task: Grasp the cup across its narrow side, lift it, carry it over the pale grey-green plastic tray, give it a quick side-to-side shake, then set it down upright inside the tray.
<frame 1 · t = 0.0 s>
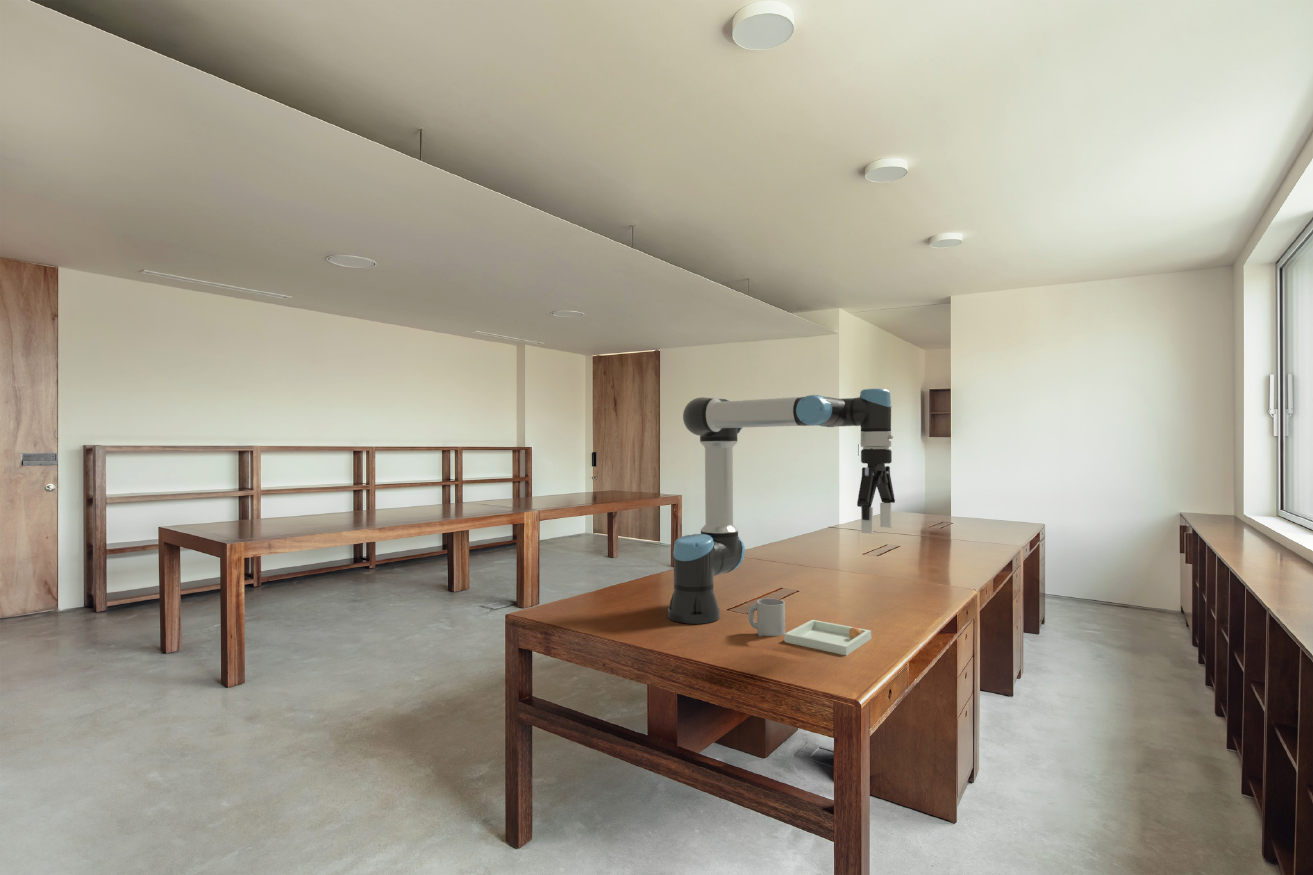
hand: (876, 530, 159), 28 cm above the table, fingers open, 13 cm apart
tray: (828, 644, 154), on the table
cup: (766, 635, 162), on the table
ball: (855, 639, 155), point 1 cm above the table, touching tray
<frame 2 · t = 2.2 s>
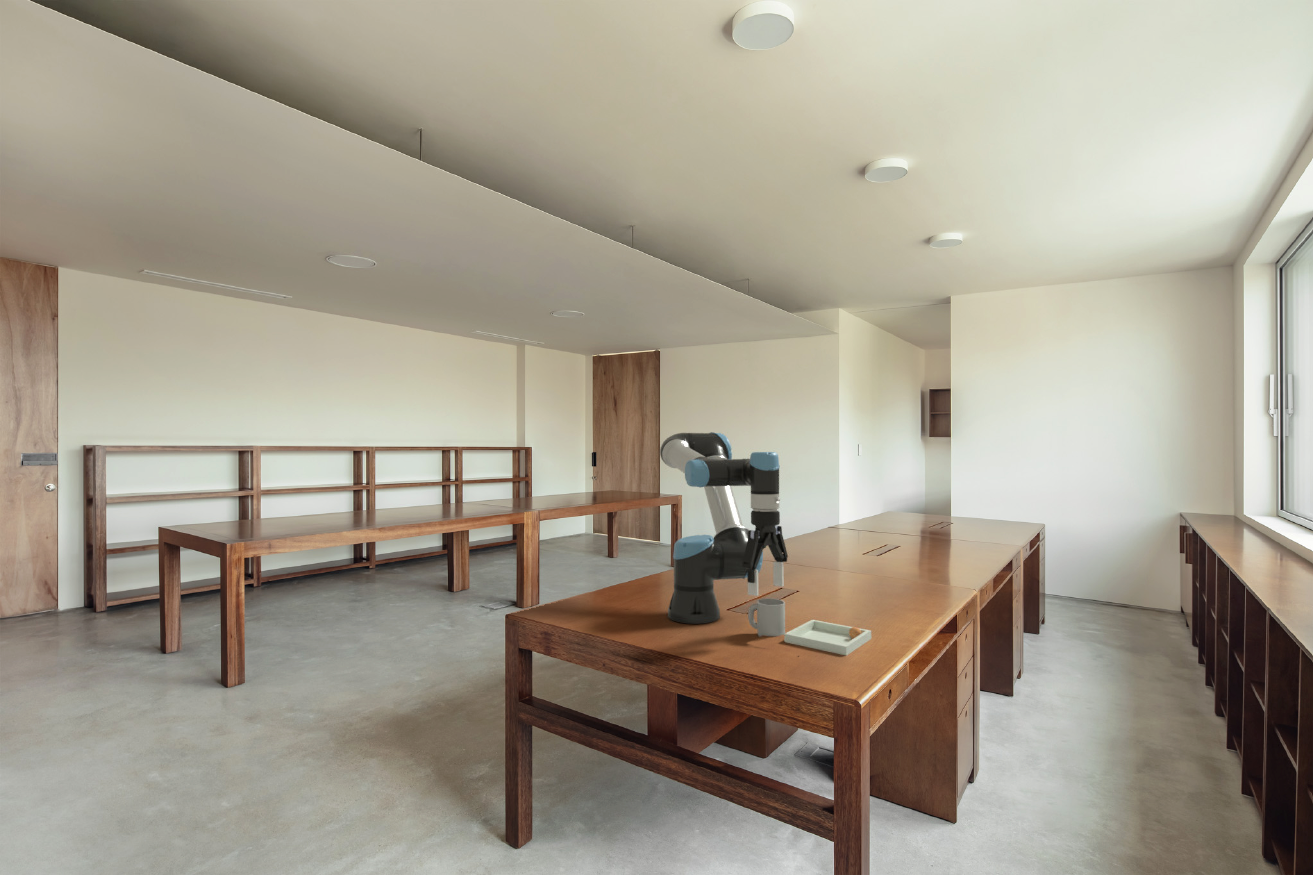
hand: (766, 590, 162), 12 cm above the table, fingers open, 13 cm apart
nothing on the table moved.
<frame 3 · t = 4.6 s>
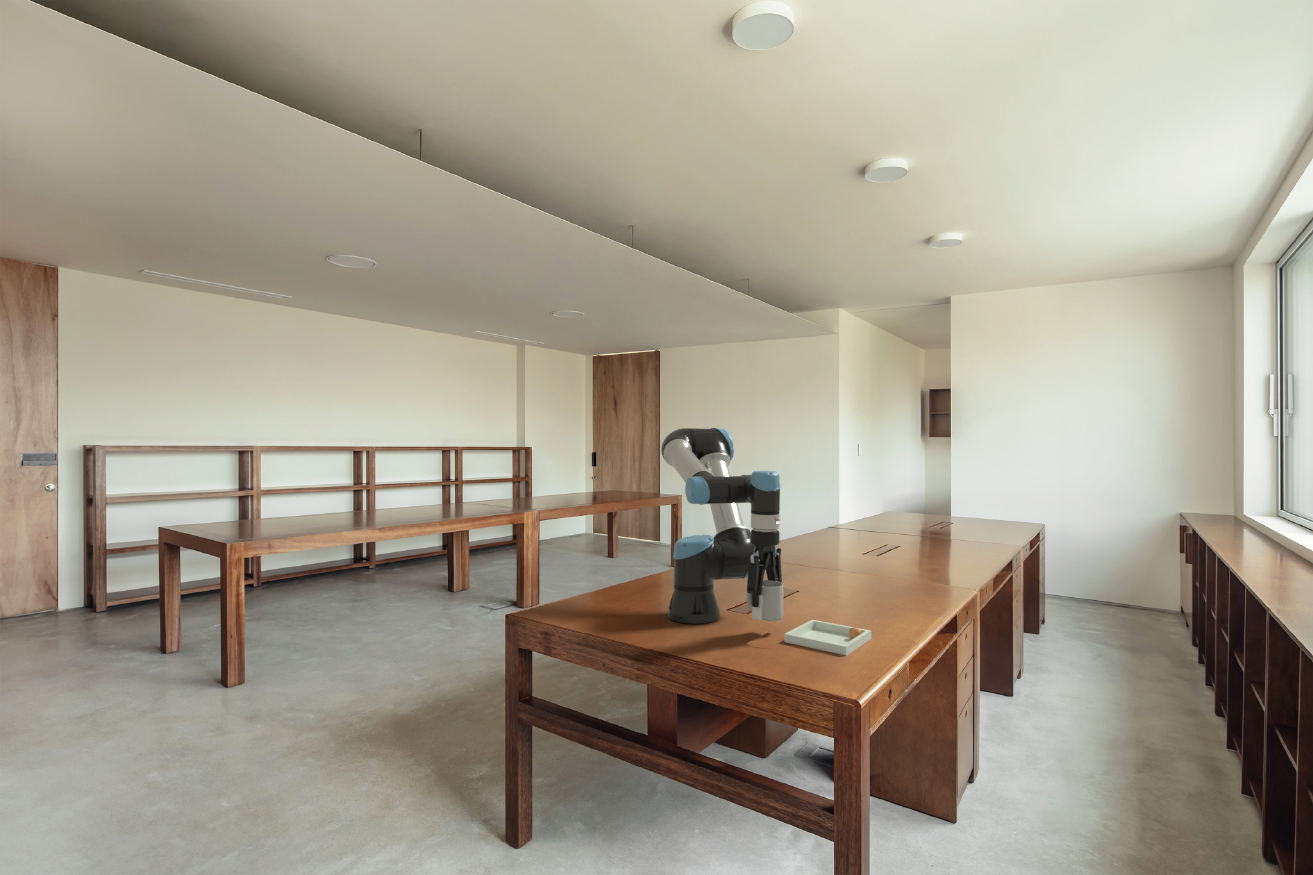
hand: (764, 615, 163), 5 cm above the table, fingers closed on cup, 7 cm apart
cup: (764, 617, 163), point 5 cm above the table, touching gripper
everything else where it was.
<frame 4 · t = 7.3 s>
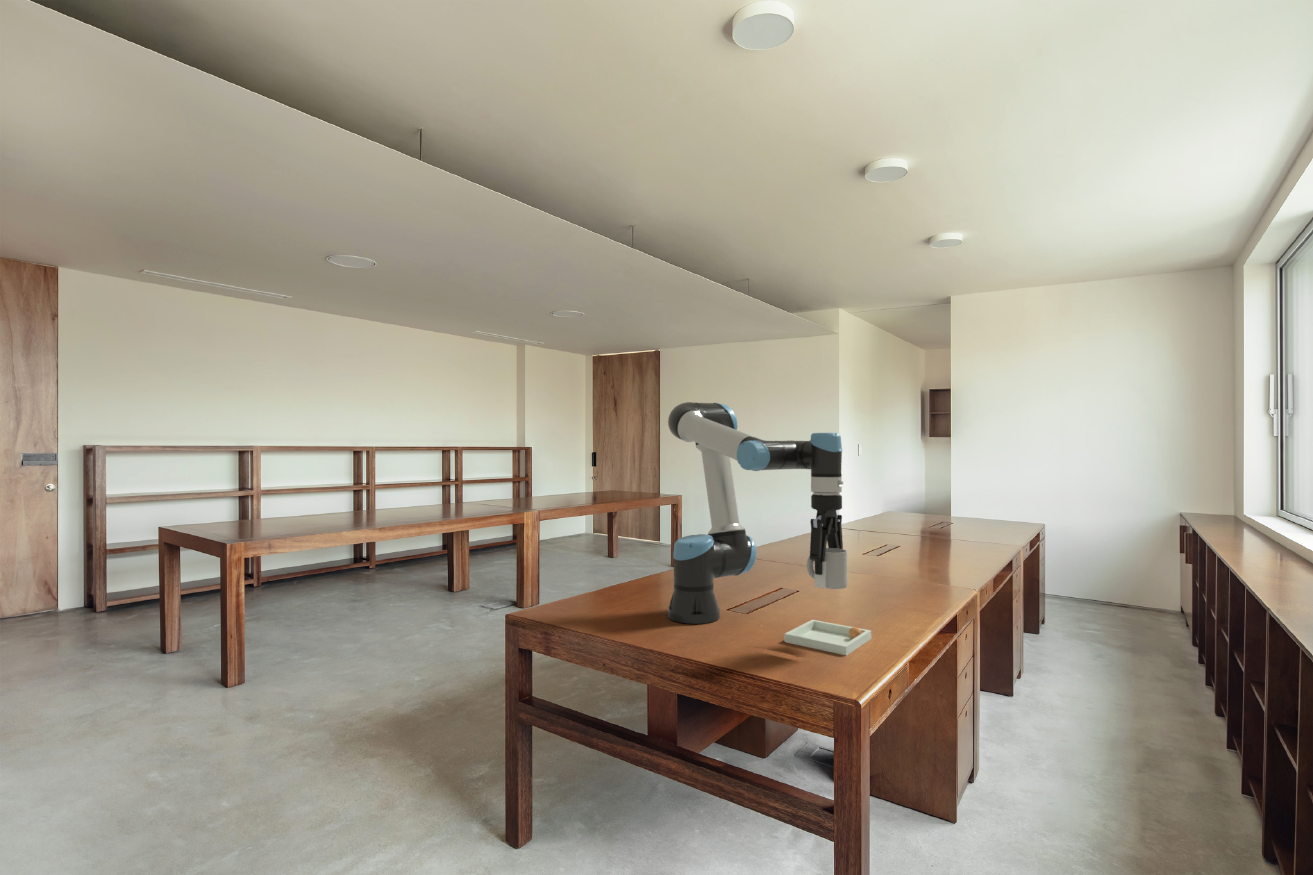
hand: (827, 584, 154), 15 cm above the table, fingers closed on cup, 7 cm apart
cup: (826, 586, 154), point 15 cm above the table, touching gripper
everything else where it was.
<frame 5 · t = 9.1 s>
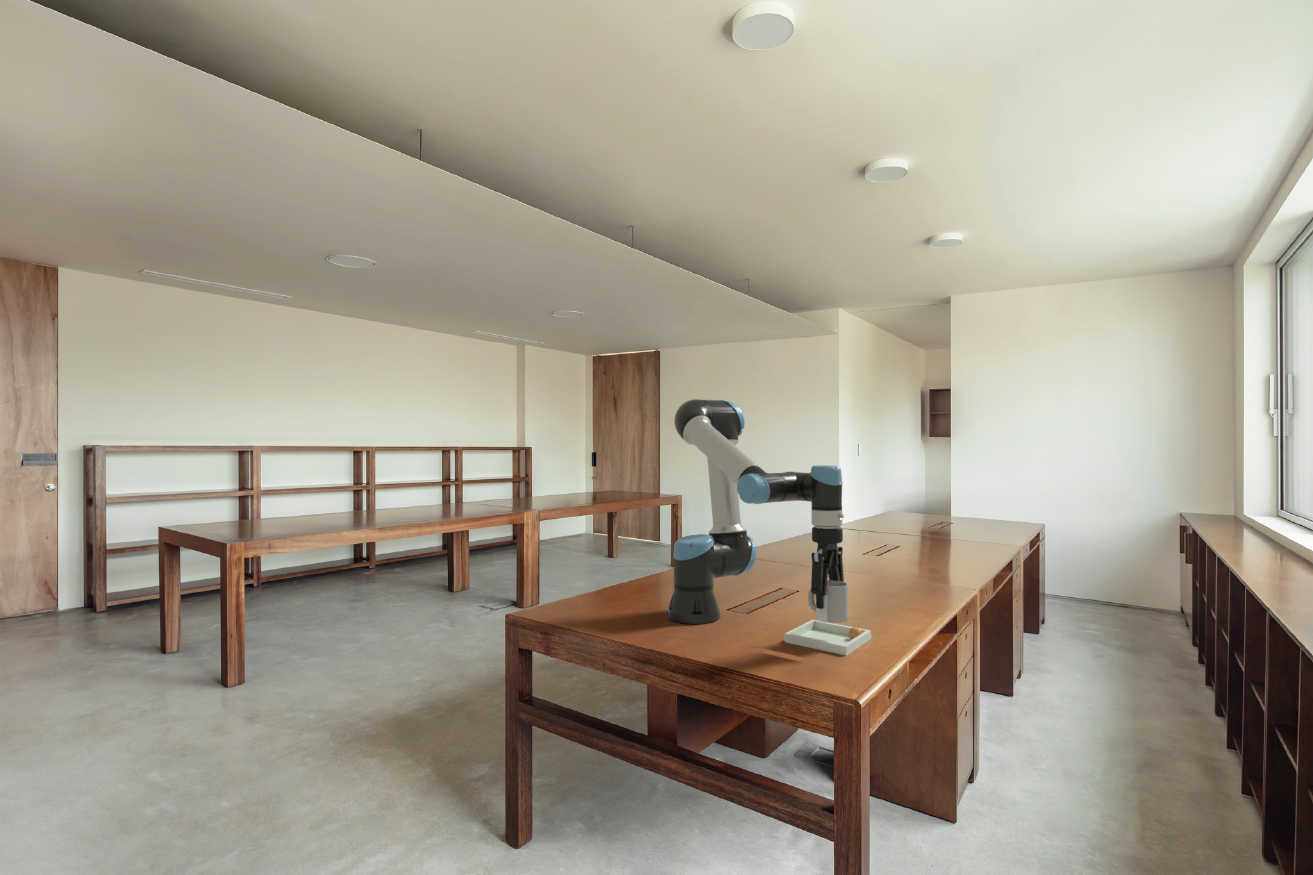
hand: (828, 617, 154), 7 cm above the table, fingers closed on cup, 7 cm apart
cup: (828, 619, 154), point 6 cm above the table, touching gripper
everything else where it was.
when the fingers open (2 cm above the table, at t = 10.4 s): cup stays where it is, resting on tray.
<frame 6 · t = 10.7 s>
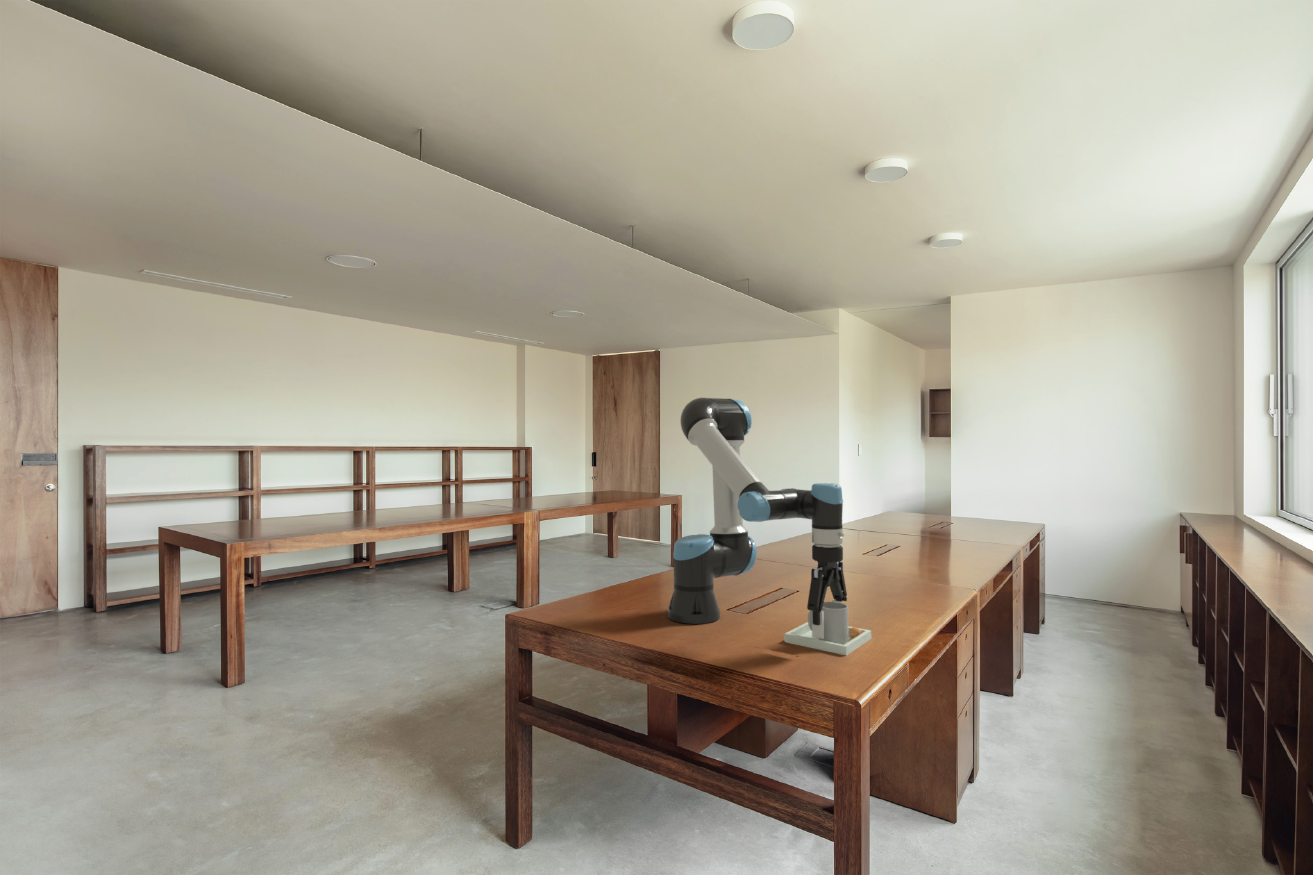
hand: (828, 631, 154), 3 cm above the table, fingers open, 11 cm apart
cup: (827, 641, 154), point 1 cm above the table, touching tray
everything else where it was.
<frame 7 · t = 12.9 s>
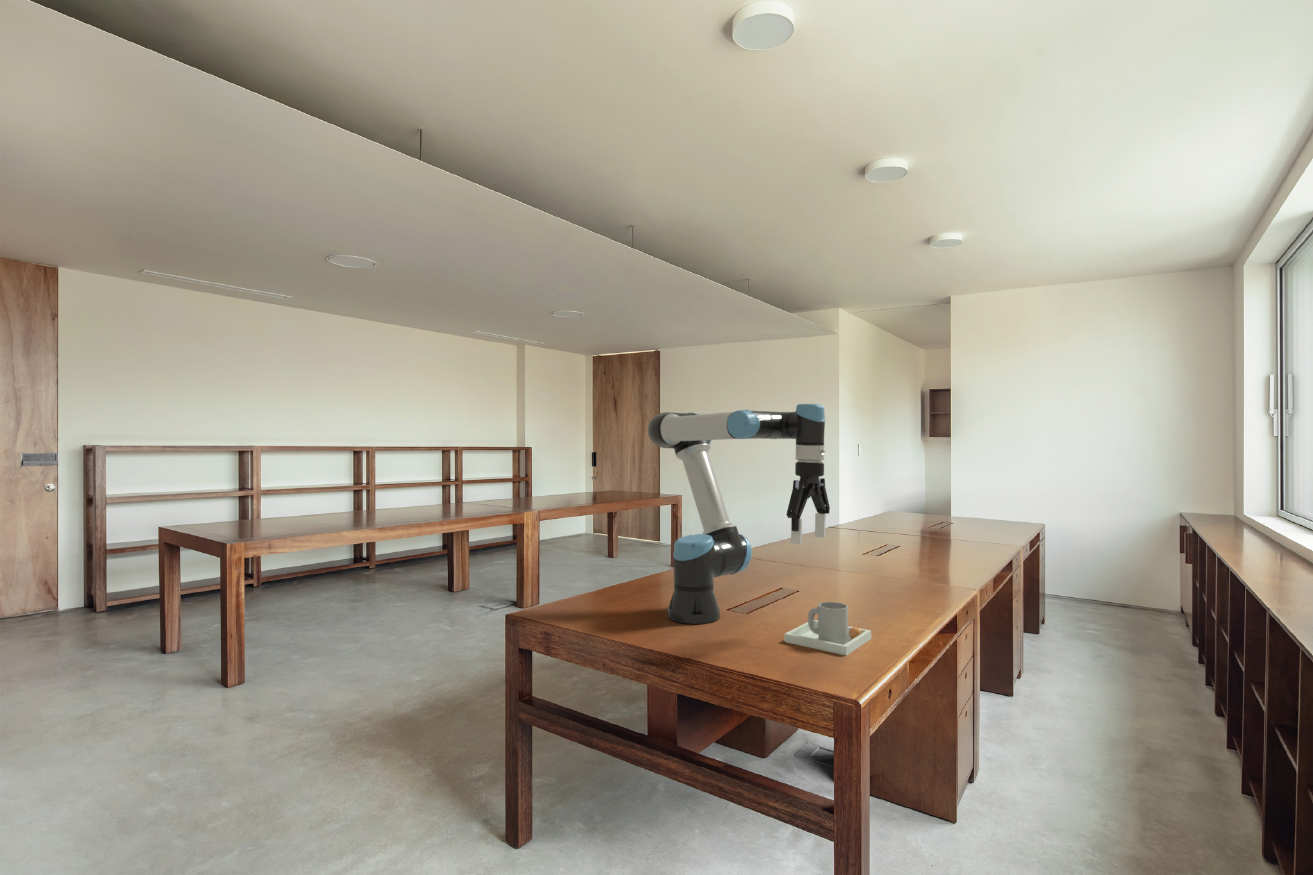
hand: (808, 540, 165), 25 cm above the table, fingers open, 13 cm apart
nothing on the table moved.
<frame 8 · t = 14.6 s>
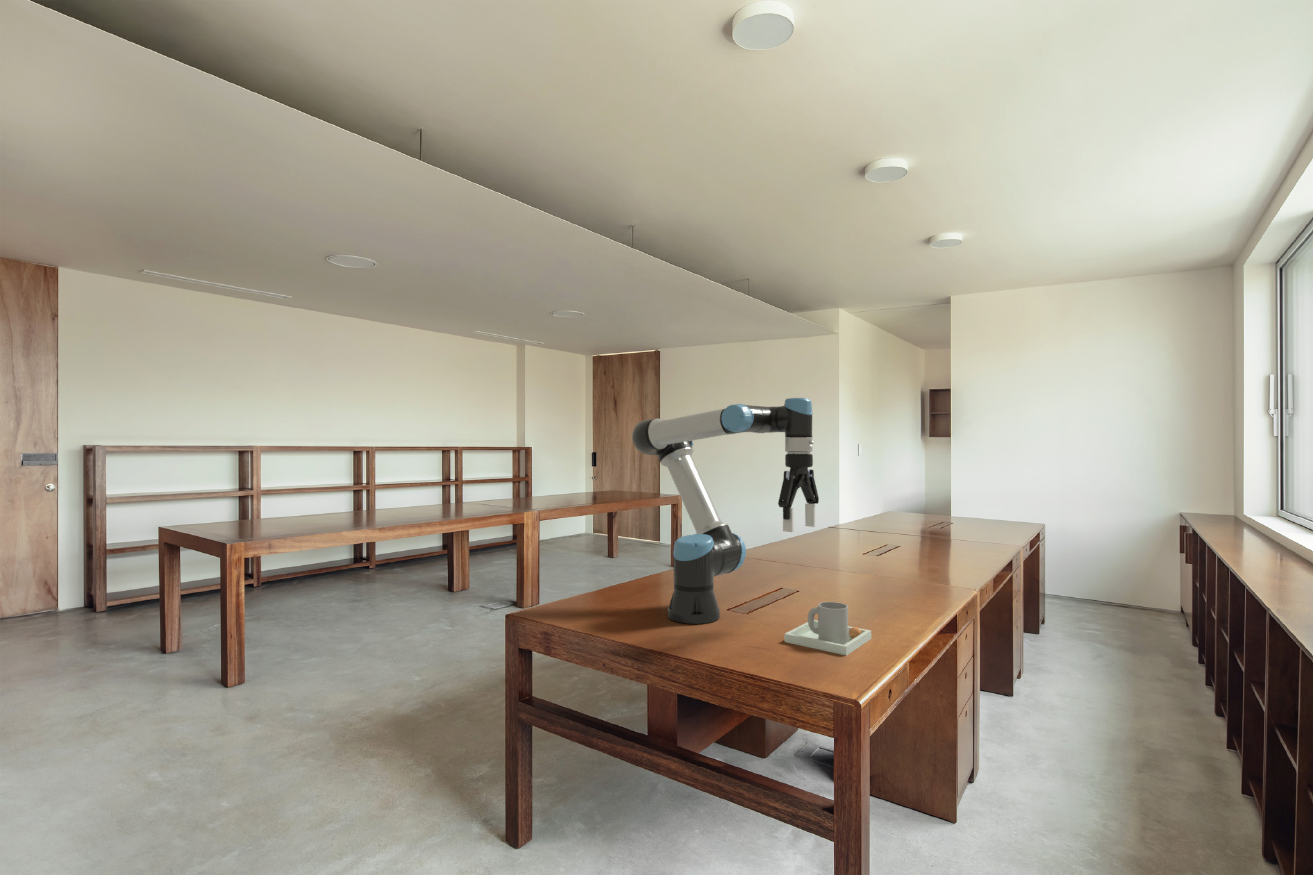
hand: (799, 529, 171), 27 cm above the table, fingers open, 13 cm apart
nothing on the table moved.
at the end: cup inside the target area on the tray (0.2 cm from its centre), point 0.8 cm above the tray's base; cup tilted 0°; the gripper is holding nothing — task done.
